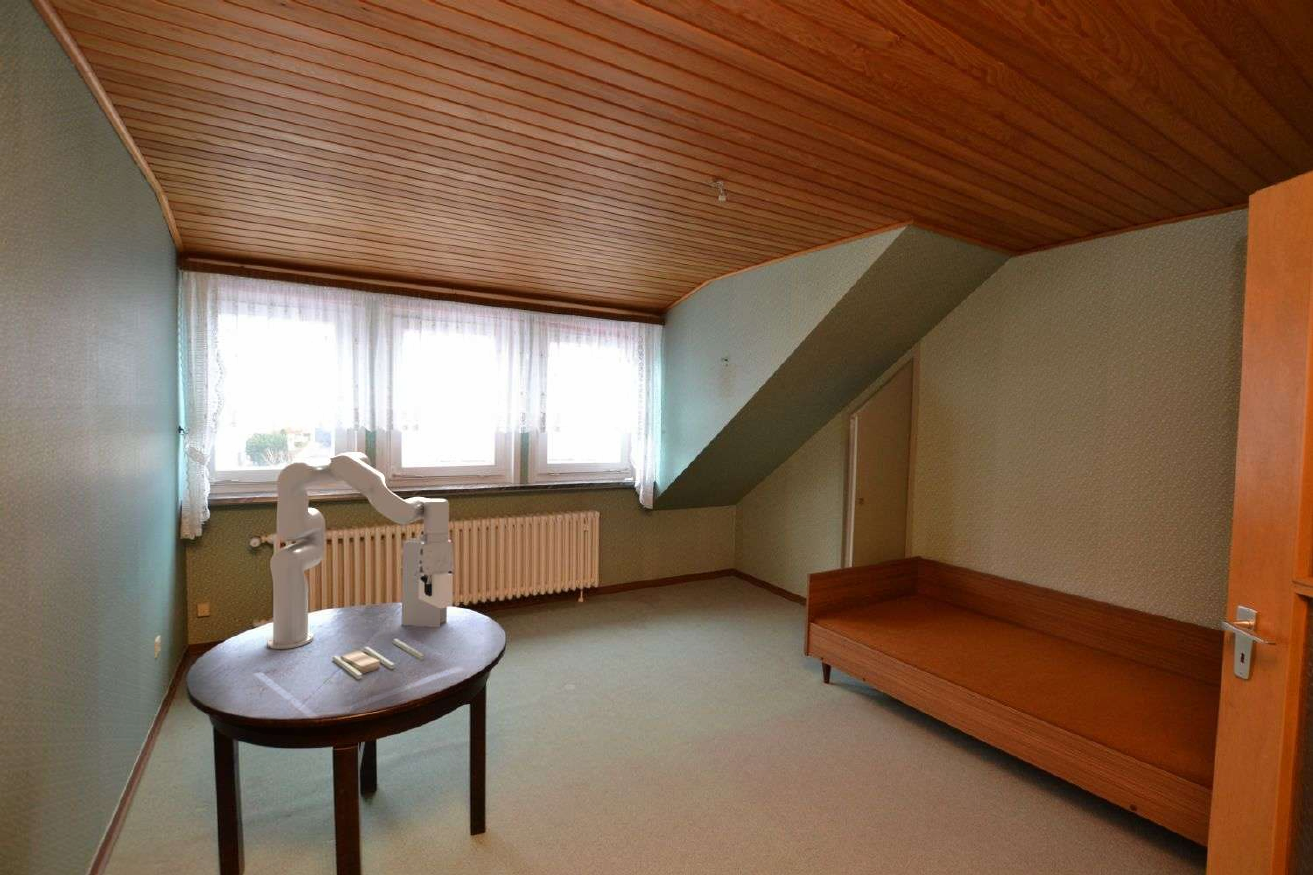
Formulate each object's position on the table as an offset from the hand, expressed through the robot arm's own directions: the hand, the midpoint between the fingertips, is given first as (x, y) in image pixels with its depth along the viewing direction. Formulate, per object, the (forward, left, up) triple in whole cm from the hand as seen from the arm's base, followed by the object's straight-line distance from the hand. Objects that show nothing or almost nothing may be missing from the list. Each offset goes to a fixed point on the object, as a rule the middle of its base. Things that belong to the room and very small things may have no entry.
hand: (435, 593), depth 183 cm
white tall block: (-22, +8, -18) cm, 30 cm away
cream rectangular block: (0, 0, -3) cm, 3 cm away
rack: (0, -18, -18) cm, 25 cm away
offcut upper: (0, -23, -16) cm, 28 cm away
